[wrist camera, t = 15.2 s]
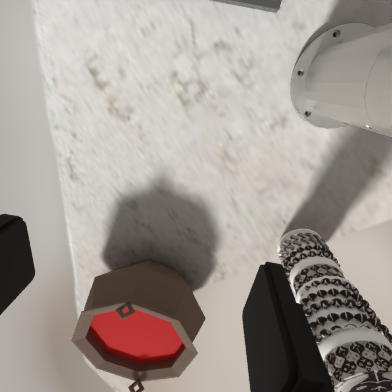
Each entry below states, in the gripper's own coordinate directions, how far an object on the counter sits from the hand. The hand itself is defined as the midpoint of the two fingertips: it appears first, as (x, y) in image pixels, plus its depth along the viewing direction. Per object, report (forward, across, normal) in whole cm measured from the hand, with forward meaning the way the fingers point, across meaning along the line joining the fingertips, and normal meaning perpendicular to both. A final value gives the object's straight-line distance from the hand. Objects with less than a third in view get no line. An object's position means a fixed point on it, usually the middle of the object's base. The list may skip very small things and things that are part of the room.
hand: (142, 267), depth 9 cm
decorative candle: (+31, -23, +18) cm, 42 cm away
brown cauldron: (+31, +4, +35) cm, 47 cm away
